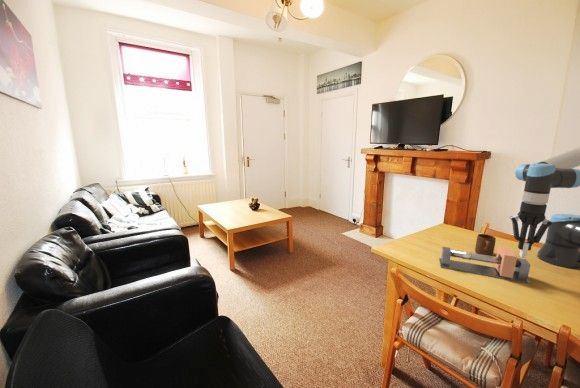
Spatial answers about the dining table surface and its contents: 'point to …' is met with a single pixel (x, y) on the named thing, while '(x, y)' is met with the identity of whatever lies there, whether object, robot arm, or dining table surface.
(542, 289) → the dining table surface
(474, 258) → the pipe rig
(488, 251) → the mug
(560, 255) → the robot arm
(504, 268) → the collar
